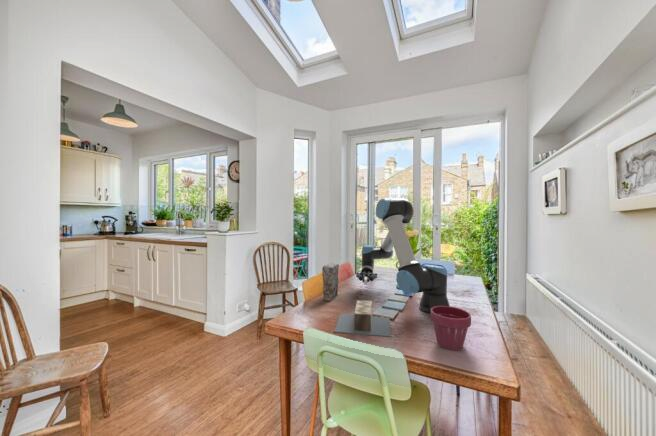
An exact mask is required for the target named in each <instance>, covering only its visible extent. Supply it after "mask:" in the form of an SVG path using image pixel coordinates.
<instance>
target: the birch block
mask: <svg viewBox="0 0 656 436" xmlns="http://www.w3.org/2000/svg"><path fill="white" fill-rule="evenodd" d="M372 302H373V301H372V300H360V299H358V300H356V304H355V305H356V306H355V308H354V309H355V310H354V314H353V315H354V330H359V331H371V316H373V314H372V313H373V312H372V307H373V305H372V304H373V303H372Z"/></svg>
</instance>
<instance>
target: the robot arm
mask: <svg viewBox="0 0 656 436" xmlns="http://www.w3.org/2000/svg"><path fill="white" fill-rule="evenodd" d="M375 215H376V217H377V218H378V219H380V220H382V223H383V225H385V226H386V228H387V230H388V232H387V234H386V236H385V238H384V240H383V242H382V244H381V245H380V247H374V246H373V245H370V244H369V245H362V246H361V269H360V272H356V273H355V277H356V278H357V279H358V281H362V283H363V285H368V282H373V281H374V280H376V279H378V273H374V260H385V259H387V260H388V259H391V258H392V257H393V255H394V252H395V255H396V259H397V261H398V265H399V266H398V268H397V271H398V272H397V273H396V274H395V275H396V276H395V277H396V278H395V281H396V283H397V286H398V288H399V289H400V291H402V292H403V293H406V294H412V295H413V294H417V293H422V295H421V298H420V301H419V306H418V307H419V310H421V311H422V312H425V313H428V314H431V308H433V307H435V306H450V303H449V299H448V295H447V294H448V293H447V292H448V291H447V289H448V288H447V287H448V271H447V268H446V267H444V266H440V265H435V264H423V266H421V263H420V262H419V261H417V260H416V257H415V254H414V252H413V251H414V250H413V249H412V246H411V243H410V240H409V237H408V234H407V231H406V229H405V228H406V227H407V225H408V224H410V222H411V221H412V218H413V217H414V207H413V204H412V203H411V202H410V201H409V200H408V199H406V198H388V197H386V198H385V197H384V198H380V199H379V200H378V202H377V203H376V207H375ZM393 249H394V250H393ZM450 307H451V306H450Z"/></svg>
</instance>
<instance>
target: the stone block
mask: <svg viewBox="0 0 656 436" xmlns="http://www.w3.org/2000/svg"><path fill="white" fill-rule="evenodd" d="M339 267H340V265H339V263H334V262H329V263H326V264H325V265H323V266H322V271H321V272H322V273H321V274H322V285H323V286H322V291H323V300H324V301H328V302H332V301H334V300H335V298H336V297H337V296H338V290H339V289H338V288H339V270H340V269H339Z"/></svg>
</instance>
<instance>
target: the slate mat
mask: <svg viewBox="0 0 656 436" xmlns="http://www.w3.org/2000/svg"><path fill="white" fill-rule="evenodd" d="M384 317H385V316H380V317H378V316H377V315H372V316H371V331H359V330H354V314H349V313H348V314H347V313H339V316H338V319H337V321H336V324H335V327H334V330H333V333H337V334H338V333H339V334H352V335H362V336H364V335H365V336H373V337H374V336H375V337H384V338H392V337H393V336H392V328H391V321H390V317H389V318H384Z"/></svg>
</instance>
